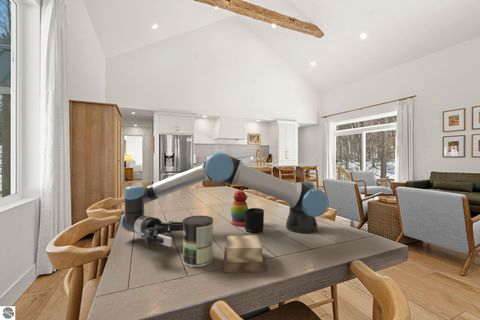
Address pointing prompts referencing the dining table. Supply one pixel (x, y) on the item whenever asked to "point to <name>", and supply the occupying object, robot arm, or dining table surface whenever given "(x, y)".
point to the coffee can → (197, 241)
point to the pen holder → (254, 220)
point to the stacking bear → (239, 209)
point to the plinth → (243, 265)
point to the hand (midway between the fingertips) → (186, 236)
